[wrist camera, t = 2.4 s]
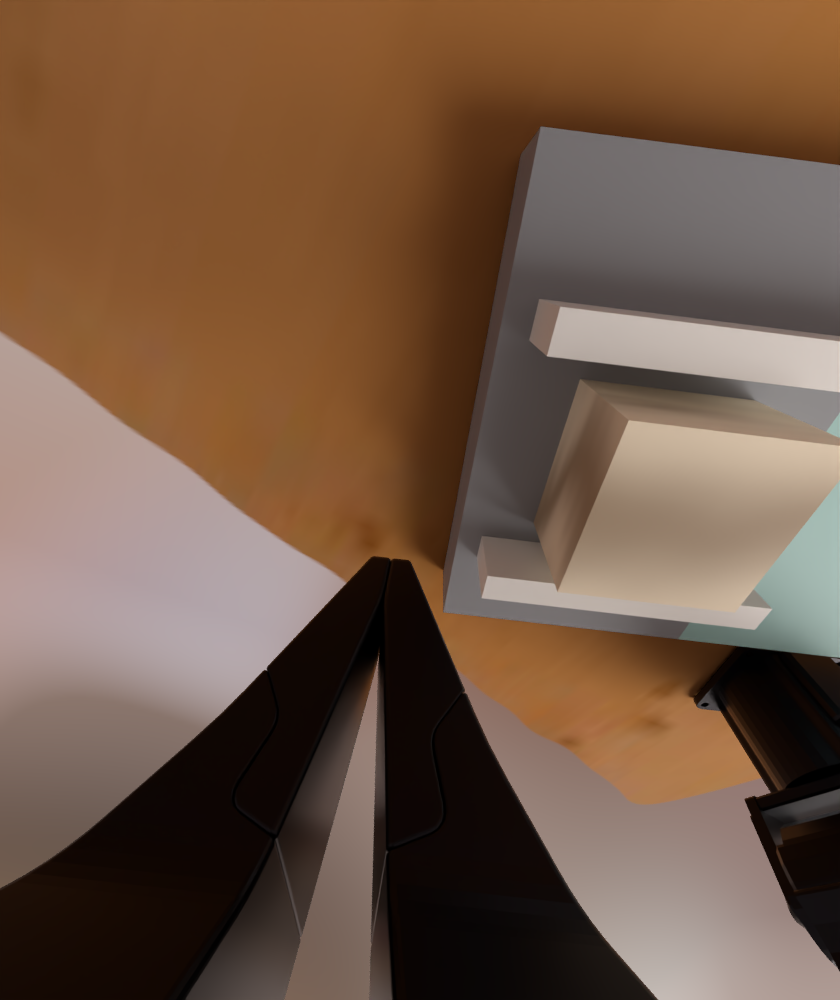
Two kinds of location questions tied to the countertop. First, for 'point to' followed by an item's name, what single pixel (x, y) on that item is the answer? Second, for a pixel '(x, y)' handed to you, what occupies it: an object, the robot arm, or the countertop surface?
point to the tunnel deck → (651, 359)
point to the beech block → (677, 494)
